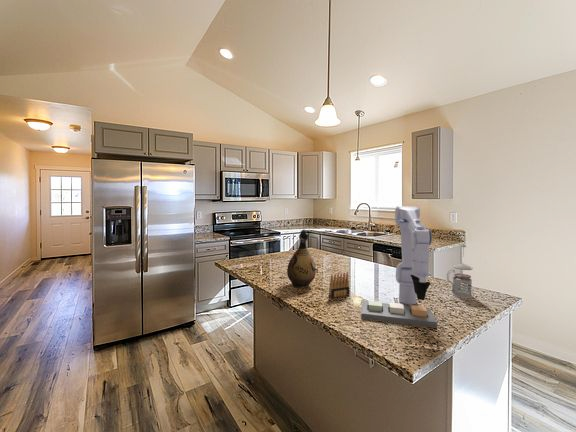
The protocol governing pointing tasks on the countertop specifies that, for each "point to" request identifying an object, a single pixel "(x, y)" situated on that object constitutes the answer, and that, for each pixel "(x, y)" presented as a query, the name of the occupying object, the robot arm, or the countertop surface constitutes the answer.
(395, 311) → the white key
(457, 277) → the french press
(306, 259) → the ceramic jug
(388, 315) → the keypad
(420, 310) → the orange key
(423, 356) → the countertop surface
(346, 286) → the ammunition clip
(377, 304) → the sage key
